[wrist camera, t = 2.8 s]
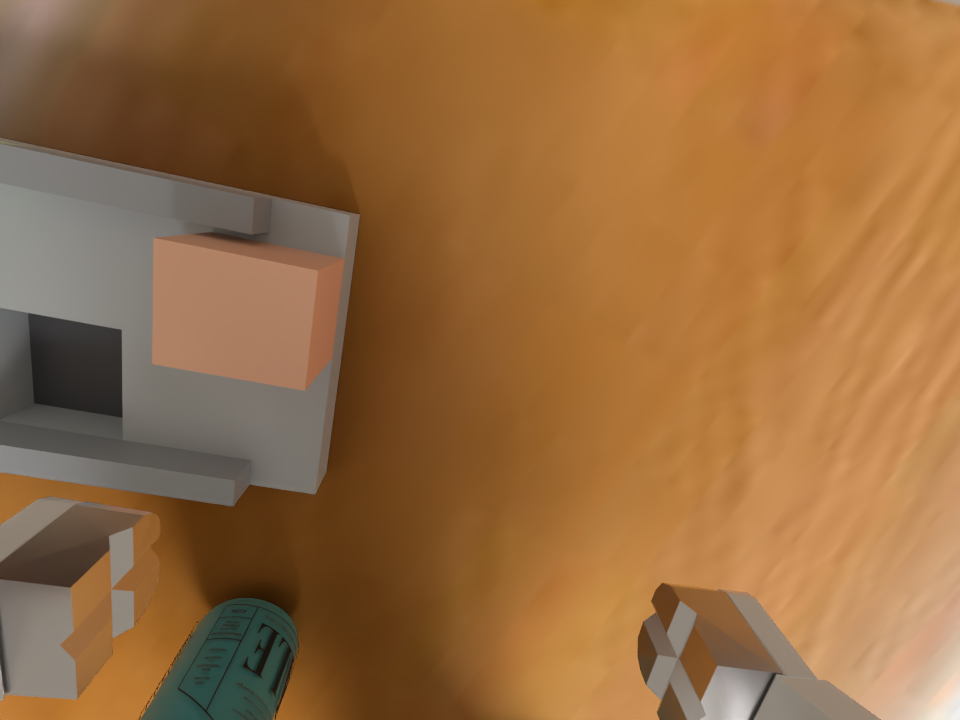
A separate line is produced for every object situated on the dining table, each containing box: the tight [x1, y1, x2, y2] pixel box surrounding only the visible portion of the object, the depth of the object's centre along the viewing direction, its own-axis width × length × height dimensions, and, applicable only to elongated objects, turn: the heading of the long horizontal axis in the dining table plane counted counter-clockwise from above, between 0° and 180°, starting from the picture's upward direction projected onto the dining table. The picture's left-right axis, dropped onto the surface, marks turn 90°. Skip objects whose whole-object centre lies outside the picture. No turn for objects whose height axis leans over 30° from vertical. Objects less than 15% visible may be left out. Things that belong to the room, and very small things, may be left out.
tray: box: [0, 138, 360, 506], centre depth 23 cm, size 19×15×4 cm
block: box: [152, 232, 345, 391], centre depth 21 cm, size 6×5×4 cm
